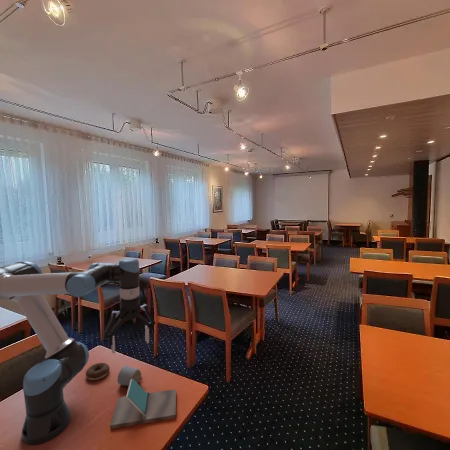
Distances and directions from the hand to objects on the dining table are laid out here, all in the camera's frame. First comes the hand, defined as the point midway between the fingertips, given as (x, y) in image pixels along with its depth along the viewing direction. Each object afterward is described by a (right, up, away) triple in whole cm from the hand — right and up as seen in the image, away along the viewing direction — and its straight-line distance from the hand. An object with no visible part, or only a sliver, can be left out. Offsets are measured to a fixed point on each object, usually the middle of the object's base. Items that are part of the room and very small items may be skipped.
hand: (130, 346), depth 107 cm
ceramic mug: (-5, -24, +15) cm, 29 cm away
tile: (+3, -19, -2) cm, 19 cm away
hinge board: (+7, -25, -1) cm, 26 cm away
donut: (-24, -24, +21) cm, 40 cm away
